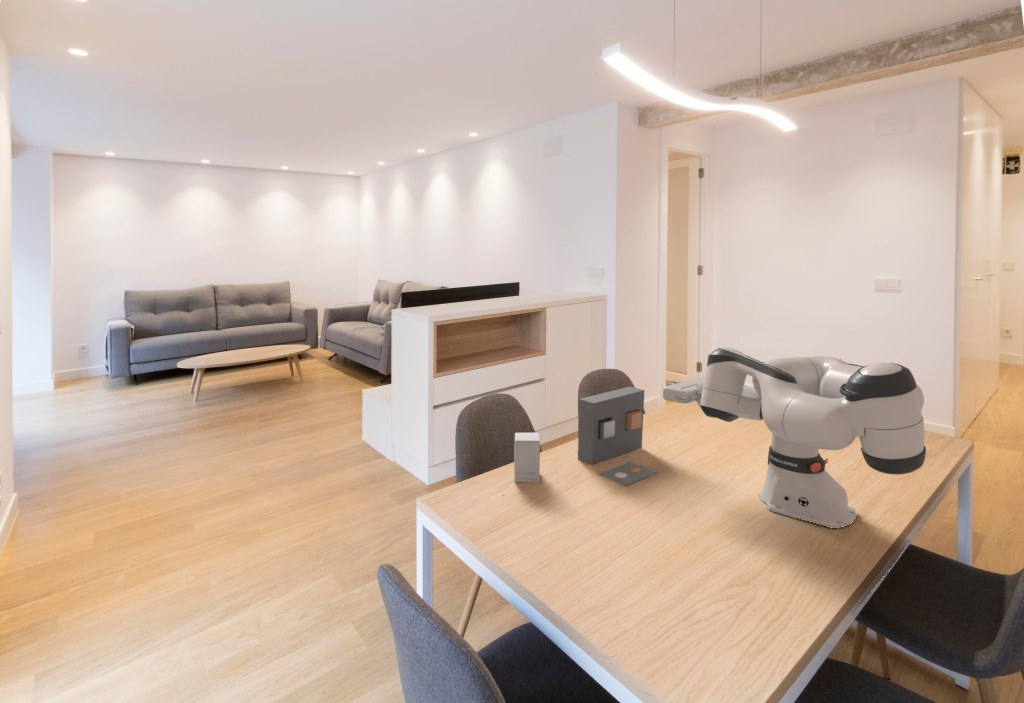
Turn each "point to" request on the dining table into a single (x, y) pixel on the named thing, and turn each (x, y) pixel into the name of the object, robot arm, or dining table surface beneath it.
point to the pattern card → (627, 473)
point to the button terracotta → (633, 420)
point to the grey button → (606, 428)
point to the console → (616, 409)
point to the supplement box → (527, 457)
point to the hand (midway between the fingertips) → (669, 384)
